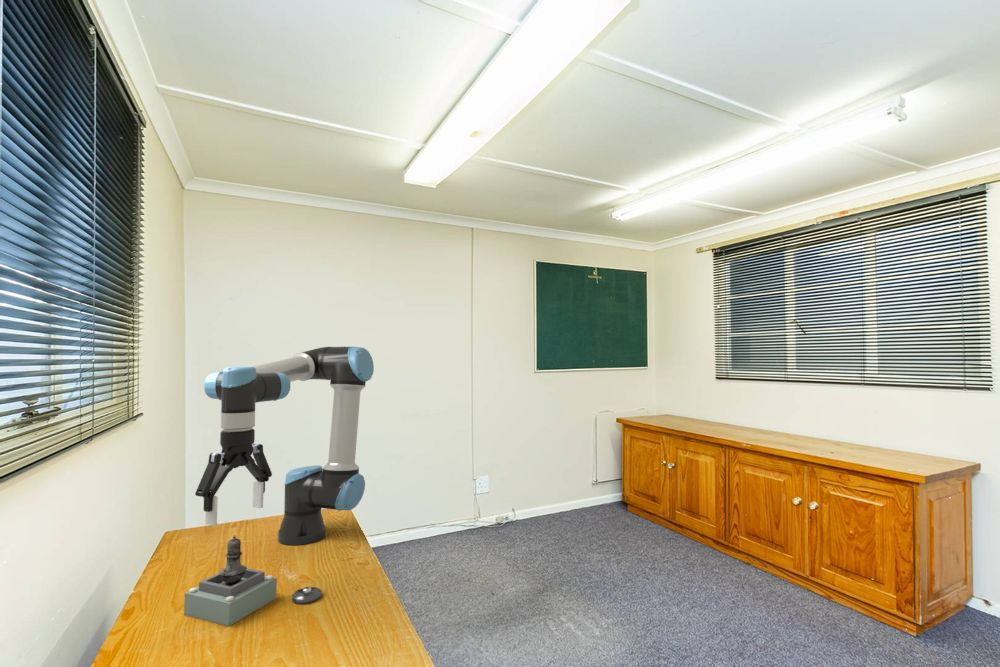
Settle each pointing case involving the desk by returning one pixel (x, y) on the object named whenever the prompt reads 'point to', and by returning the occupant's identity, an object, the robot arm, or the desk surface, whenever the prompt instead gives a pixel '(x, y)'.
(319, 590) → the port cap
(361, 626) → the desk surface
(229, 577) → the dark metal chess piece
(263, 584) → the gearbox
